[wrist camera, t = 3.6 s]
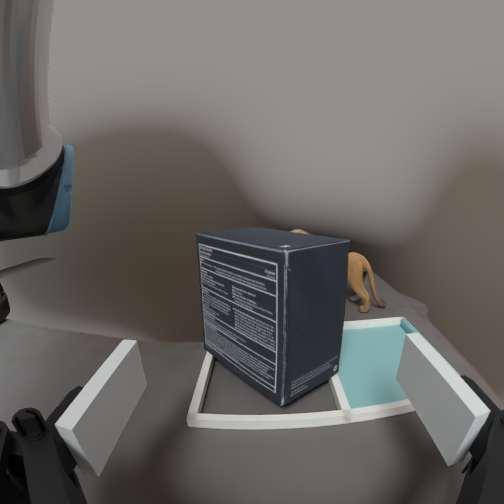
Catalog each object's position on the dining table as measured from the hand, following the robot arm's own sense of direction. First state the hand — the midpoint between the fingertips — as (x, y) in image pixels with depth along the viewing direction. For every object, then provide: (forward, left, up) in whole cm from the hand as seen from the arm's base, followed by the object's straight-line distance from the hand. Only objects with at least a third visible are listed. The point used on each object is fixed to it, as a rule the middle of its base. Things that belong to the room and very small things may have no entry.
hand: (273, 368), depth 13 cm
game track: (+5, +9, -6) cm, 12 cm away
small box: (0, +9, -6) cm, 11 cm away
